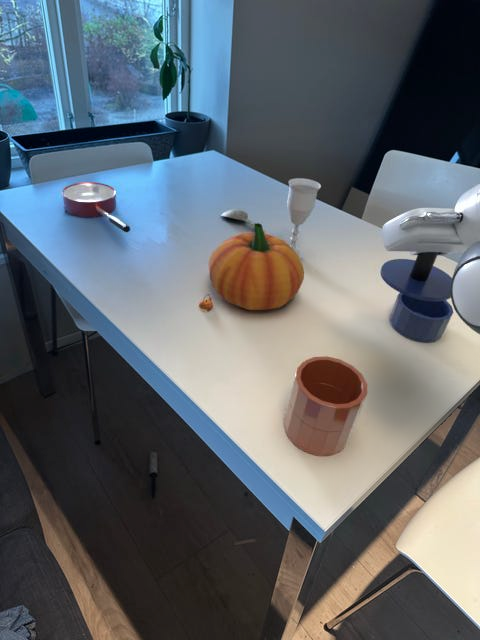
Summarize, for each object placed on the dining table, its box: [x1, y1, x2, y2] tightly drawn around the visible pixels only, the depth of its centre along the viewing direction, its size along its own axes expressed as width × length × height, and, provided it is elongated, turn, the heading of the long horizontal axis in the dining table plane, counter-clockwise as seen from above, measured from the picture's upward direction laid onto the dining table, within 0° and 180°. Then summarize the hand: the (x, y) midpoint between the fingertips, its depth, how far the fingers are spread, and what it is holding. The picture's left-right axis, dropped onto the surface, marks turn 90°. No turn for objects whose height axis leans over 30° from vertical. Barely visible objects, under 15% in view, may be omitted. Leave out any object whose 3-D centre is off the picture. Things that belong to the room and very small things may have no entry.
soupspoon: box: [220, 208, 270, 235], centre depth 116 cm, size 22×3×7 cm
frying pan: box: [61, 181, 131, 233], centre depth 110 cm, size 32×13×6 cm, turn 39°
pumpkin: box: [208, 222, 305, 311], centre depth 89 cm, size 19×19×15 cm
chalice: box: [286, 177, 322, 261], centre depth 102 cm, size 7×7×18 cm
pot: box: [283, 355, 368, 457], centre depth 63 cm, size 10×10×10 cm
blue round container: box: [389, 292, 454, 343], centre depth 88 cm, size 10×10×6 cm
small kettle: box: [198, 293, 214, 312], centre depth 87 cm, size 3×3×3 cm
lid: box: [379, 252, 452, 301], centre depth 66 cm, size 11×11×10 cm
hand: (426, 250), depth 67 cm, fingers closed on lid, 2 cm apart
